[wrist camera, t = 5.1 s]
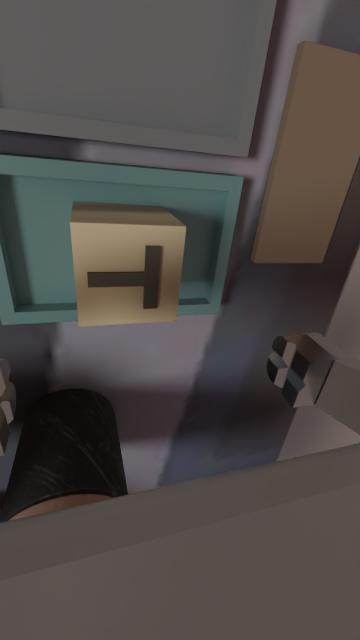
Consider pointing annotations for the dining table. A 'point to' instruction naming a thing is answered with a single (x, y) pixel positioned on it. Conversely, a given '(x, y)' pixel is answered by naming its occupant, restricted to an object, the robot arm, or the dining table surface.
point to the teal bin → (104, 187)
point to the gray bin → (135, 70)
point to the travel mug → (65, 456)
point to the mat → (311, 157)
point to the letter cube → (126, 263)
